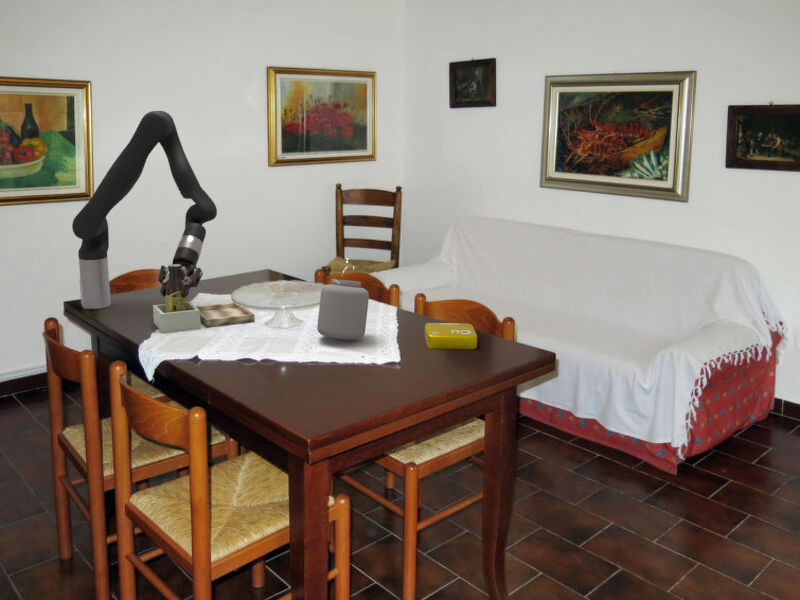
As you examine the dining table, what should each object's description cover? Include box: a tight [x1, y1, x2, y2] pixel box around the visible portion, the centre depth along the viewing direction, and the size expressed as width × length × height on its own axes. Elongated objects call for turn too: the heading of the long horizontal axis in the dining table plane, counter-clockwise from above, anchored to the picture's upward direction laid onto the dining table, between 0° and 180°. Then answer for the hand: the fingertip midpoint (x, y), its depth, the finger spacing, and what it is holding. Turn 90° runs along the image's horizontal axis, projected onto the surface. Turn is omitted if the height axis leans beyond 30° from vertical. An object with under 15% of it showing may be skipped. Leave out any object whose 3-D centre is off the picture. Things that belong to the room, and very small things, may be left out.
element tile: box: [424, 322, 478, 350], centre depth 236 cm, size 15×15×5 cm
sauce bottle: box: [165, 263, 187, 313], centre depth 243 cm, size 7×6×20 cm
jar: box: [316, 258, 370, 340], centre depth 234 cm, size 19×15×25 cm
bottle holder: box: [152, 301, 202, 334], centre depth 245 cm, size 12×12×6 cm
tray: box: [196, 302, 256, 328], centre depth 256 cm, size 16×18×2 cm
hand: (173, 295), depth 242 cm, fingers closed on sauce bottle, 6 cm apart
